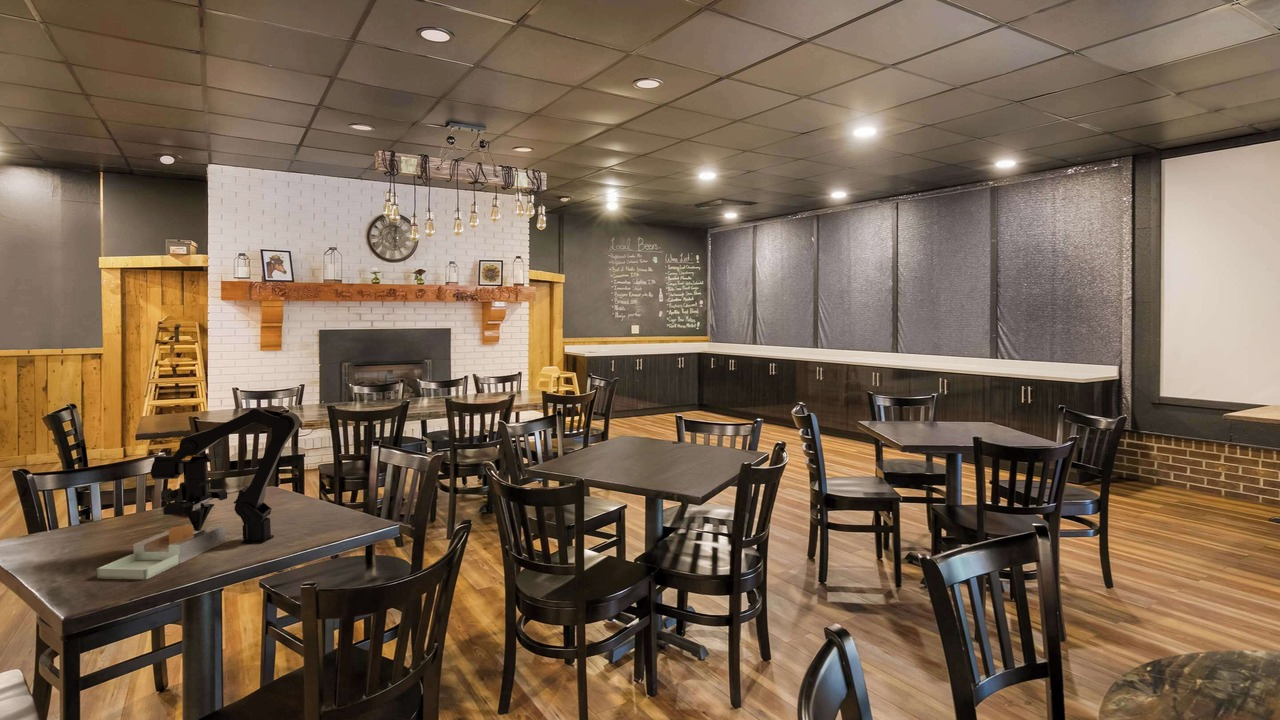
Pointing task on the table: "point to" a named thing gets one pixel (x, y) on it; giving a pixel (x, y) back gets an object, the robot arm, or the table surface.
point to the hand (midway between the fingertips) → (197, 530)
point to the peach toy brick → (180, 532)
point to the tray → (135, 568)
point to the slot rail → (179, 545)
